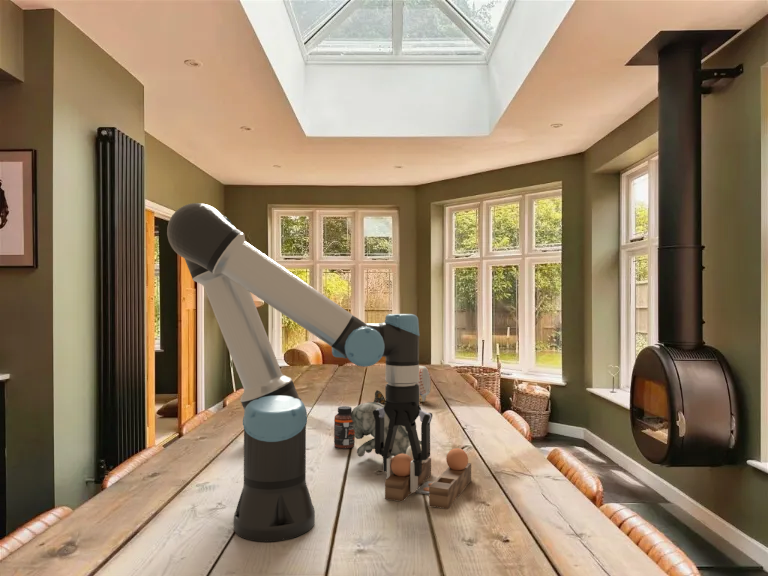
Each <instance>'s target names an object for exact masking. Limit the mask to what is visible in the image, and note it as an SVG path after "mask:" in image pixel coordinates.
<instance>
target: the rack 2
mask: <svg viewBox="0 0 768 576" xmlns="http://www.w3.org/2000/svg"><path fill="white" fill-rule="evenodd" d="M432 482H433V483H432V484H431V485H430V486H429V495H428V497H429V498H428V499H429V501H428V506H429V507H434V508H439V509H444V510H448V509H449V508H450V507H451V506H452V504H454V503H455V501H456V500H457V499H458V497H460V495H461V493H463V491H465V489H466V487H467V486H468V485H469V484H470V483H471V482H472V462H468V464H467V466H466V468H465V469H463V470H461V471H457V470H452V469H451V468H450V467H449V466H448V468H447V469H445V470H444V471H443V472H442V474H440V475H439V477H437V479H435V480H434V481H432Z"/></svg>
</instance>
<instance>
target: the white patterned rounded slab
mask: <svg viewBox="0 0 768 576" xmlns="http://www.w3.org/2000/svg"><path fill="white" fill-rule="evenodd" d="M416 384H418V385H419V403H425V401H426V399H427V396H428V395H430V393H431V389H432V379H431V373H430V371H429V369H428V367H426V366H425V365H419V381H418V382H417V383H416Z"/></svg>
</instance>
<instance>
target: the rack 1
mask: <svg viewBox="0 0 768 576" xmlns="http://www.w3.org/2000/svg"><path fill="white" fill-rule="evenodd" d="M430 476H432V458H431V457H428V458H427V459H426V460H425V462H424V463H423V464H422V473H421V475H420V476H418V488H419V487H420V486H422V485H423V484H424V483H425V482H426V481H427V479H428V478H430ZM412 493H413V492H410V475H408V476H406V477H400V476H397V475H395V474H392V475H391V476H390V477H388V478H387V477H386V479H384V499H385V500H390V501H397V502H400V503H402V502H403V501H405V500H406V499H408V498H409V496H411V494H412Z"/></svg>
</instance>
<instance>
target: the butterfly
mask: <svg viewBox="0 0 768 576" xmlns="http://www.w3.org/2000/svg"><path fill="white" fill-rule="evenodd" d="M373 402H376V403H380V404H382V405H384V406H385V404H386V399H385V396H384V395H383V393H382V392H381V391H380V390H375V392H374V399H373Z"/></svg>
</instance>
